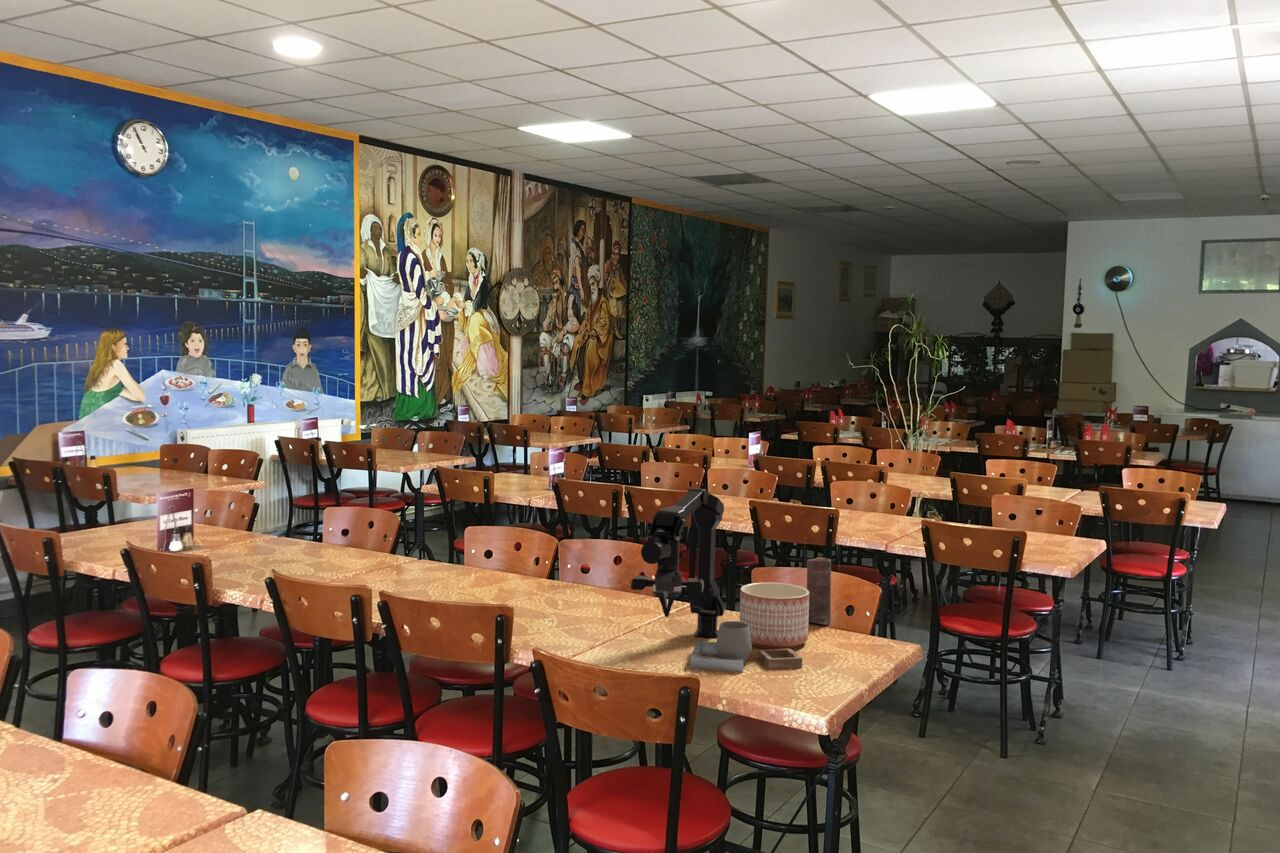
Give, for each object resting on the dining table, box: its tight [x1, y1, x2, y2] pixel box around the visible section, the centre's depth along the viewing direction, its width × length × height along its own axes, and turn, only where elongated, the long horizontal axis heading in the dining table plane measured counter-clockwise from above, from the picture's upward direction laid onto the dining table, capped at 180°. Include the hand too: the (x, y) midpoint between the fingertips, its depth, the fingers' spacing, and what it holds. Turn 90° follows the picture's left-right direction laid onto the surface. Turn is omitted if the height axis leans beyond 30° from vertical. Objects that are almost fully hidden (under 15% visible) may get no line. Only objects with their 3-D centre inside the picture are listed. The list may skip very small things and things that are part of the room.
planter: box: [739, 582, 809, 649], centre depth 280 cm, size 19×19×15 cm
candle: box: [806, 556, 832, 626], centre depth 300 cm, size 8×7×20 cm
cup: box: [715, 620, 753, 664], centre depth 260 cm, size 10×9×10 cm
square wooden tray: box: [757, 648, 803, 670], centre depth 260 cm, size 9×9×2 cm
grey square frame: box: [689, 640, 745, 673], centre depth 260 cm, size 14×15×3 cm
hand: (666, 616), depth 262 cm, fingers closed
